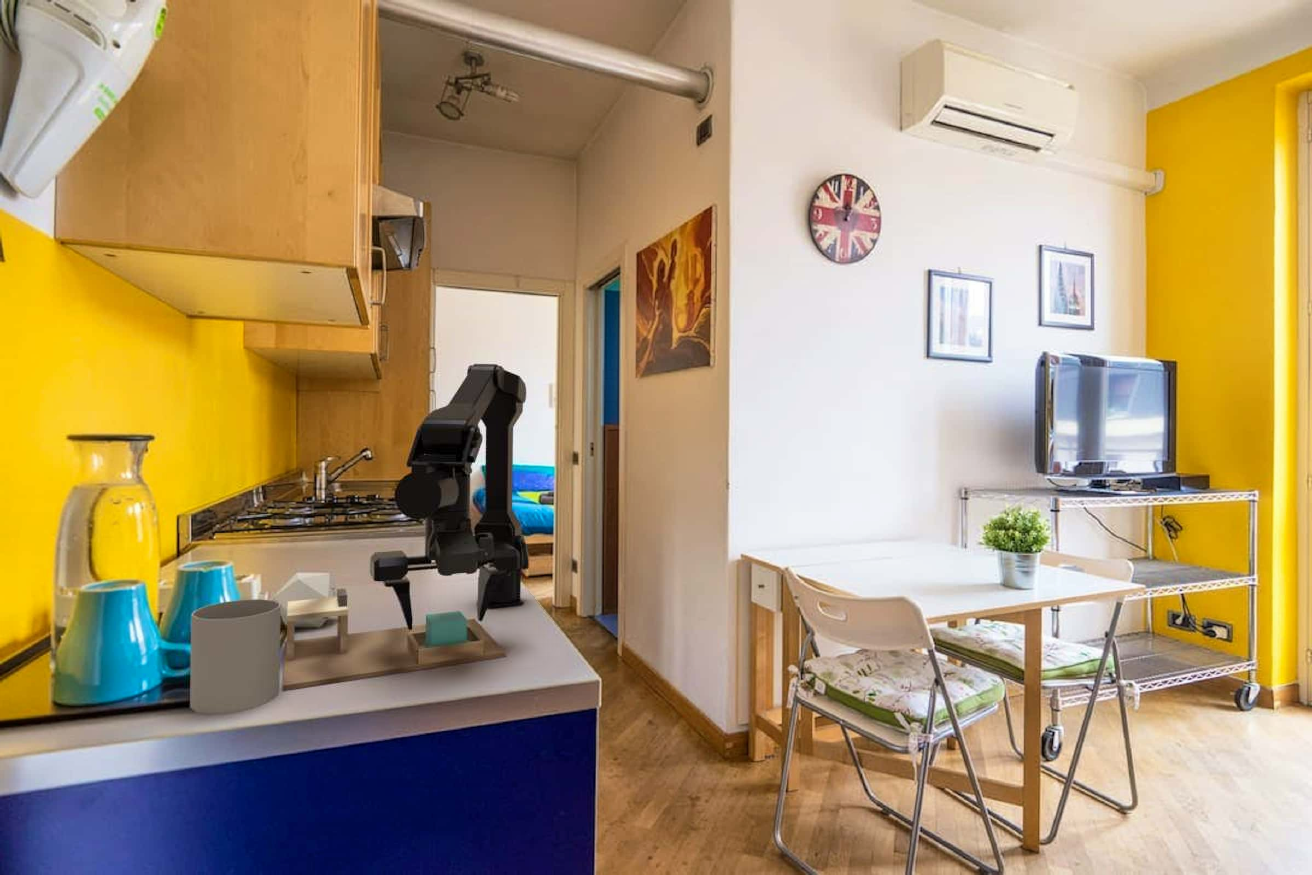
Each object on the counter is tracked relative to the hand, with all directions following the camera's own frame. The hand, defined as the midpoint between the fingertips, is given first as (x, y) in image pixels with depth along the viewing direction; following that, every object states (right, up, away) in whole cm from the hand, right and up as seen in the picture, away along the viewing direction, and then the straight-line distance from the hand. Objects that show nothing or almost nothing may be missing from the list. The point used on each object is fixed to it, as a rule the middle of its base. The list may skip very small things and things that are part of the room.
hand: (445, 624), depth 88 cm
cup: (-19, -4, -15) cm, 24 cm away
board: (-7, -4, +1) cm, 8 cm away
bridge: (-17, -3, 0) cm, 18 cm away
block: (0, -4, 0) cm, 4 cm away
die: (-25, -4, +12) cm, 28 cm away
